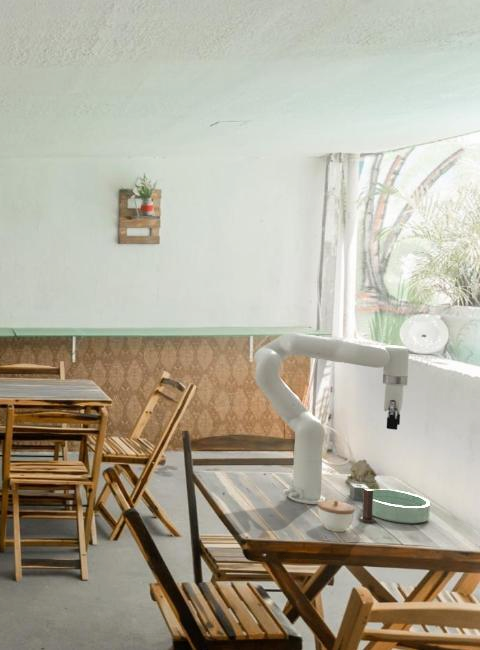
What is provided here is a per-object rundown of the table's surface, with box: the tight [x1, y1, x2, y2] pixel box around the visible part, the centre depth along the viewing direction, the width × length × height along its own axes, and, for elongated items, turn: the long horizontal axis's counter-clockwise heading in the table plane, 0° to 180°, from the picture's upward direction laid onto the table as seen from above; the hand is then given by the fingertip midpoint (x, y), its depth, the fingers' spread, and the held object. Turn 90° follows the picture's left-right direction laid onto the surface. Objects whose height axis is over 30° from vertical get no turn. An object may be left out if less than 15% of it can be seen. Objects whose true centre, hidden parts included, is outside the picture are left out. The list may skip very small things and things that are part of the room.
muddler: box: [359, 489, 376, 524], centre depth 230 cm, size 4×4×11 cm
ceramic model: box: [346, 459, 380, 489], centre depth 271 cm, size 14×11×10 cm
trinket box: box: [317, 499, 355, 533], centre depth 224 cm, size 11×11×9 cm
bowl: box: [363, 488, 431, 524], centre depth 237 cm, size 20×20×6 cm
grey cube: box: [349, 483, 369, 502], centre depth 254 cm, size 5×5×5 cm
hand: (393, 426), depth 244 cm, fingers open, 9 cm apart
